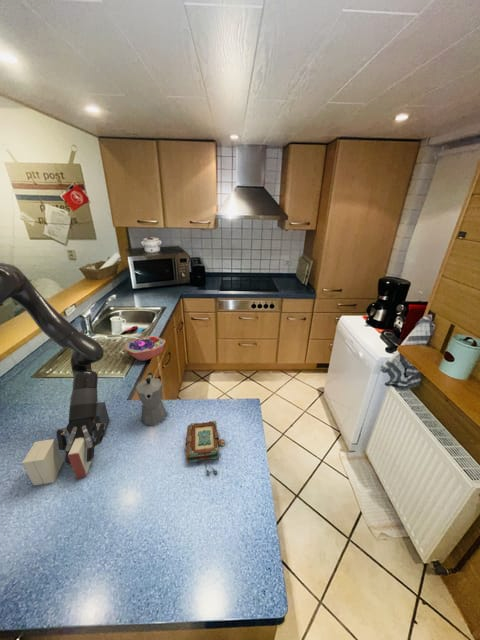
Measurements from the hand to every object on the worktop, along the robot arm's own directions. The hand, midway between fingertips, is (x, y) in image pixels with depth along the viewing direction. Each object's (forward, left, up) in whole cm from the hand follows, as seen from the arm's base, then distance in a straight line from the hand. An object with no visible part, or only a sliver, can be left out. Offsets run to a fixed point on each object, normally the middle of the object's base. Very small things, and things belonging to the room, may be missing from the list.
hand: (79, 462), depth 75 cm
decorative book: (+37, -6, -5) cm, 38 cm away
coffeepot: (+22, +17, -5) cm, 28 cm away
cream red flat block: (0, +2, -4) cm, 5 cm away
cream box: (-10, +4, -4) cm, 11 cm away
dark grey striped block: (+2, +17, -4) cm, 18 cm away
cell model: (+22, +61, -5) cm, 65 cm away
